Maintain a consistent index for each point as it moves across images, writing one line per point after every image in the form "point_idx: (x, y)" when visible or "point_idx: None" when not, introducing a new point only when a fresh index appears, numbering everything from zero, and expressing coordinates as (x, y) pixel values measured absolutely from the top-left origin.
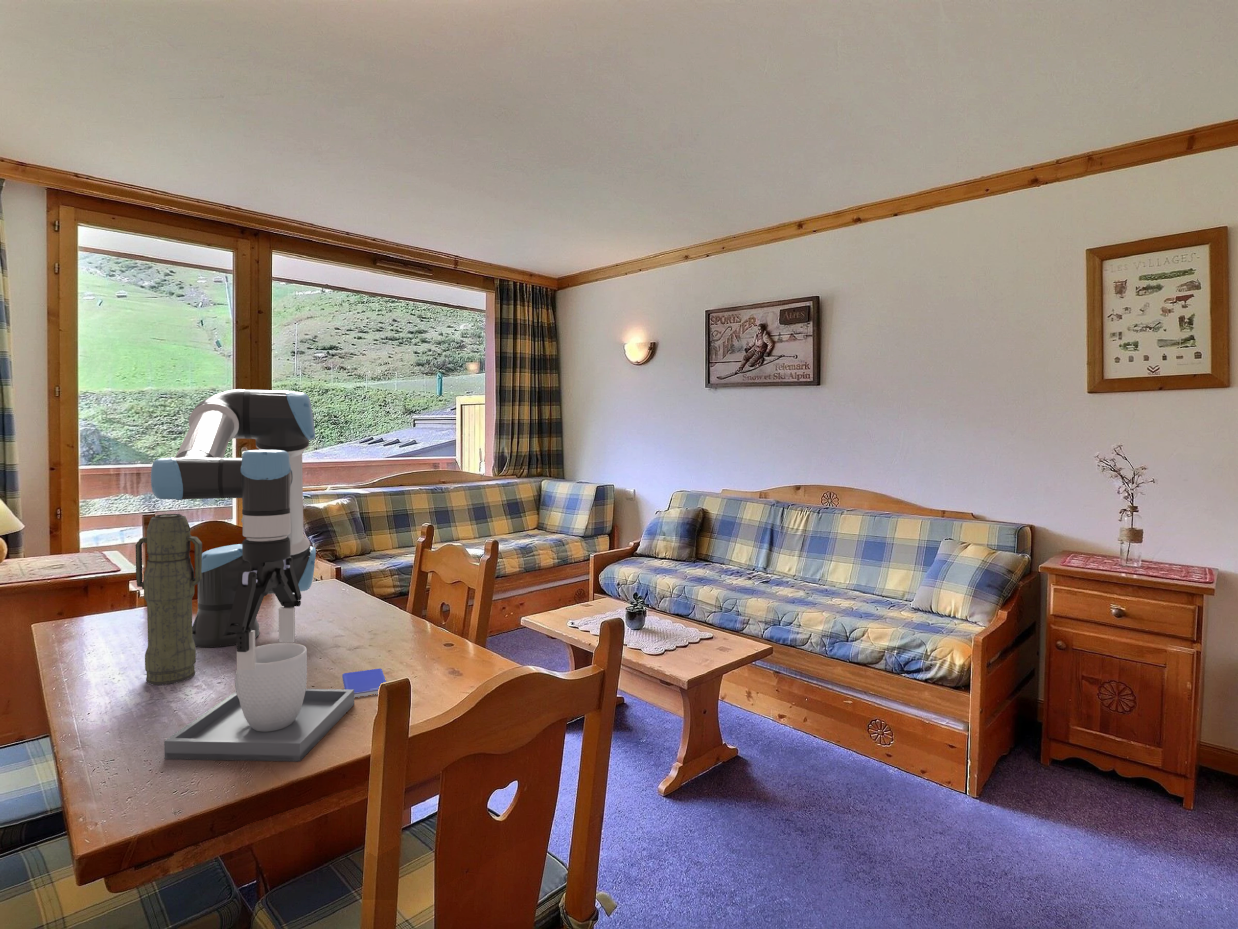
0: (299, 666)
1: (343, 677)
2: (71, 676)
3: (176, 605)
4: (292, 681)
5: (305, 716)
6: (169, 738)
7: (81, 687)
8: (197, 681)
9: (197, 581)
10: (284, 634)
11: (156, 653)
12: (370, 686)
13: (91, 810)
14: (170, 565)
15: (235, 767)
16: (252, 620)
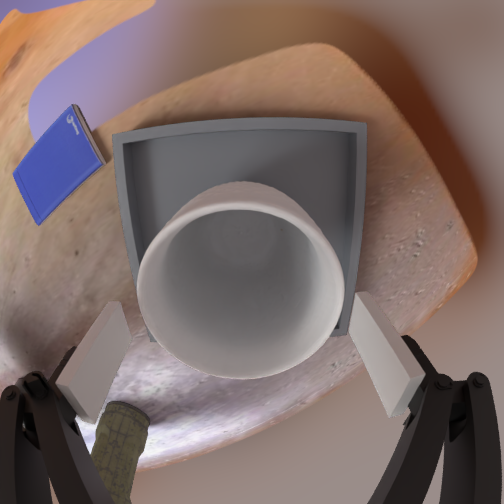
0: (261, 194)
1: (46, 215)
2: (160, 459)
3: (111, 485)
4: (283, 196)
5: (205, 186)
6: (340, 334)
7: (176, 451)
8: (124, 394)
9: None
10: (118, 340)
11: (140, 447)
12: (67, 141)
13: (429, 309)
14: None
15: (369, 215)
16: (441, 412)
